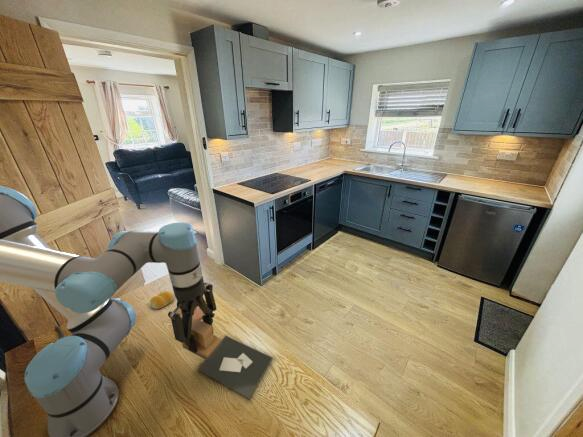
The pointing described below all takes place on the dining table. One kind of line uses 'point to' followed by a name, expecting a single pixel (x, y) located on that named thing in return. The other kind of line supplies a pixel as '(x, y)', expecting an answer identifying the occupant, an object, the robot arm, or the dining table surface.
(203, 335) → the wooden stepped block
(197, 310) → the trinket box
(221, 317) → the dining table surface
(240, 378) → the slate board
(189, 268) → the robot arm
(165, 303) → the bread roll
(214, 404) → the dining table surface
